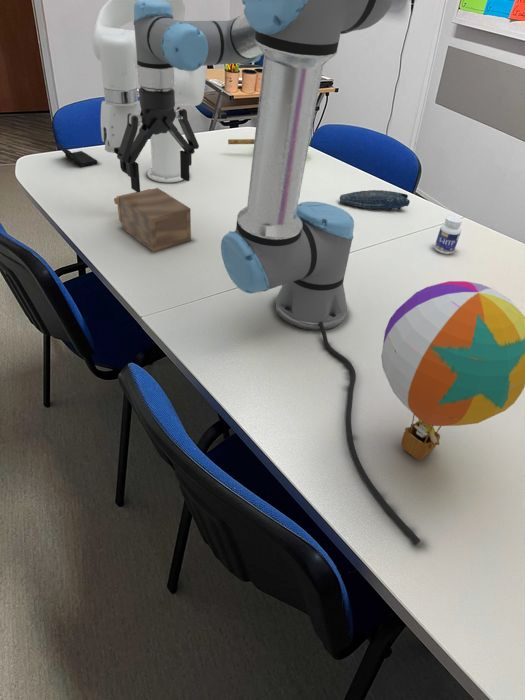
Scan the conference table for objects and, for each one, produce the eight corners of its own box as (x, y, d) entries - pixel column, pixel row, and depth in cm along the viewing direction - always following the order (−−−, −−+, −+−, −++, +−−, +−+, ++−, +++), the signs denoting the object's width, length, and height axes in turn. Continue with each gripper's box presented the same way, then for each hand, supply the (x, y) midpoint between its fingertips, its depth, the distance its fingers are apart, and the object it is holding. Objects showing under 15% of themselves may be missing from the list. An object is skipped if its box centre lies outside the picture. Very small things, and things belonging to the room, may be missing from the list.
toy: (330, 441, 84) (367, 281, 65) (404, 391, 94) (454, 241, 75) (431, 526, 73) (512, 363, 54) (502, 459, 83) (589, 303, 64)
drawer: (109, 213, 140) (106, 189, 136) (141, 205, 146) (140, 182, 142) (146, 241, 130) (144, 215, 125) (179, 231, 135) (179, 207, 131)
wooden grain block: (122, 228, 136) (119, 196, 131) (159, 219, 142) (157, 187, 137) (153, 252, 128) (150, 218, 122) (190, 240, 134) (190, 208, 128)
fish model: (408, 214, 157) (412, 198, 153) (339, 207, 158) (341, 191, 154) (406, 206, 162) (410, 190, 159) (339, 199, 163) (341, 183, 160)
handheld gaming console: (102, 156, 171) (80, 134, 163) (90, 174, 170) (68, 153, 161) (81, 152, 177) (60, 131, 169) (70, 169, 176) (48, 148, 168)
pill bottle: (433, 251, 139) (442, 220, 133) (435, 243, 143) (444, 213, 137) (453, 256, 138) (464, 225, 132) (454, 247, 142) (465, 217, 136)
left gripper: (140, 89, 129) (145, 163, 141) (83, 94, 121) (94, 172, 132) (156, 96, 125) (160, 171, 136) (99, 102, 117) (108, 182, 128)
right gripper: (194, 78, 119) (195, 170, 133) (93, 88, 106) (105, 189, 119) (214, 86, 115) (212, 179, 129) (111, 97, 102) (121, 200, 115)
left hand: (127, 172), depth 134 cm, fingers closed
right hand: (161, 184), depth 124 cm, fingers open, 13 cm apart
